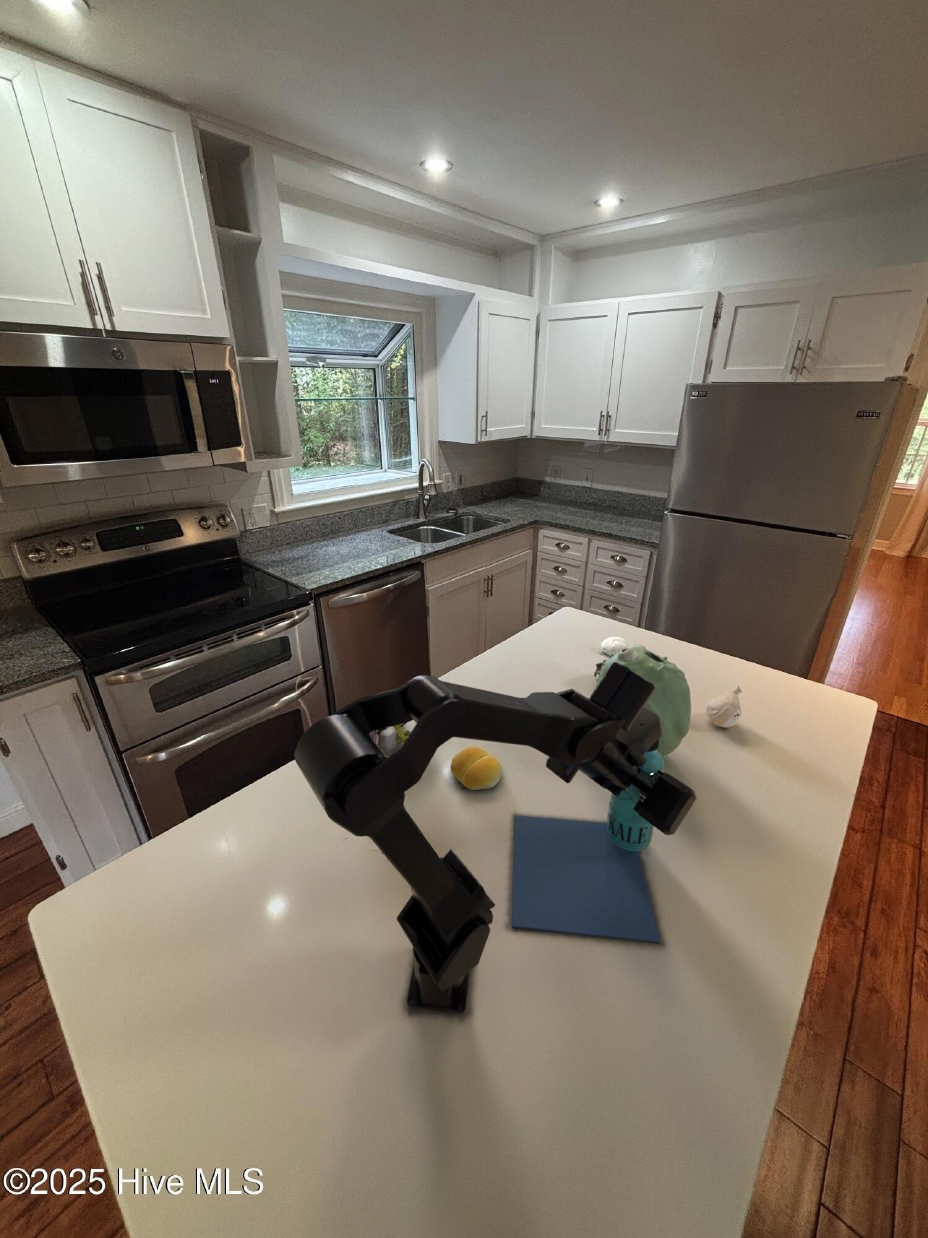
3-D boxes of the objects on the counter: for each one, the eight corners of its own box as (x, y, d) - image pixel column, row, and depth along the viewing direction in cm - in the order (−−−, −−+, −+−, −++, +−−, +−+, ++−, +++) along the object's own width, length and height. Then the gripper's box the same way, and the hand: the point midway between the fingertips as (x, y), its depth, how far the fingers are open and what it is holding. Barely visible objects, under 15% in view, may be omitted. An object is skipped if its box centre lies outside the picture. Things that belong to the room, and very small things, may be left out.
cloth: (659, 943, 61) (660, 941, 60) (511, 927, 62) (511, 925, 62) (631, 826, 77) (631, 825, 77) (514, 816, 79) (514, 815, 79)
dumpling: (629, 654, 128) (632, 643, 125) (618, 664, 125) (620, 653, 122) (607, 641, 132) (609, 630, 129) (595, 650, 129) (597, 639, 126)
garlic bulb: (744, 733, 98) (754, 699, 94) (711, 733, 98) (720, 698, 94) (729, 713, 104) (737, 680, 100) (698, 713, 104) (705, 680, 100)
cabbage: (645, 796, 83) (665, 694, 74) (568, 735, 97) (577, 644, 89) (704, 762, 90) (728, 666, 82) (624, 710, 105) (637, 625, 96)
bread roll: (477, 800, 82) (477, 781, 80) (443, 771, 88) (443, 753, 86) (512, 776, 87) (513, 758, 85) (478, 751, 93) (478, 734, 91)
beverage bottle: (636, 823, 77) (653, 712, 70) (659, 858, 71) (681, 740, 64) (597, 830, 76) (609, 717, 68) (617, 865, 70) (633, 746, 62)
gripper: (704, 738, 54) (734, 776, 65) (576, 668, 68) (618, 708, 78) (648, 824, 53) (688, 849, 64) (530, 735, 67) (578, 767, 77)
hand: (639, 786), depth 71 cm, fingers closed on beverage bottle, 6 cm apart
